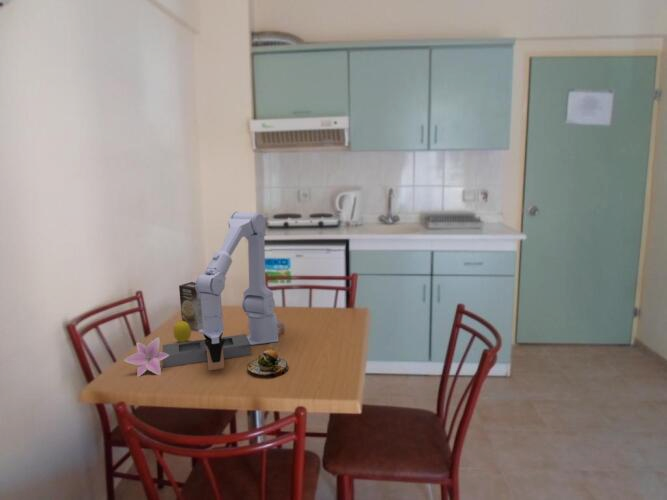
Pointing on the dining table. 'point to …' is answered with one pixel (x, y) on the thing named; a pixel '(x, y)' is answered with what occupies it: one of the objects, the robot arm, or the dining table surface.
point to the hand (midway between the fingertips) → (215, 358)
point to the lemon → (182, 331)
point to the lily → (147, 357)
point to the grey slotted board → (204, 350)
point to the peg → (217, 364)
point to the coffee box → (191, 306)
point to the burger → (268, 364)
